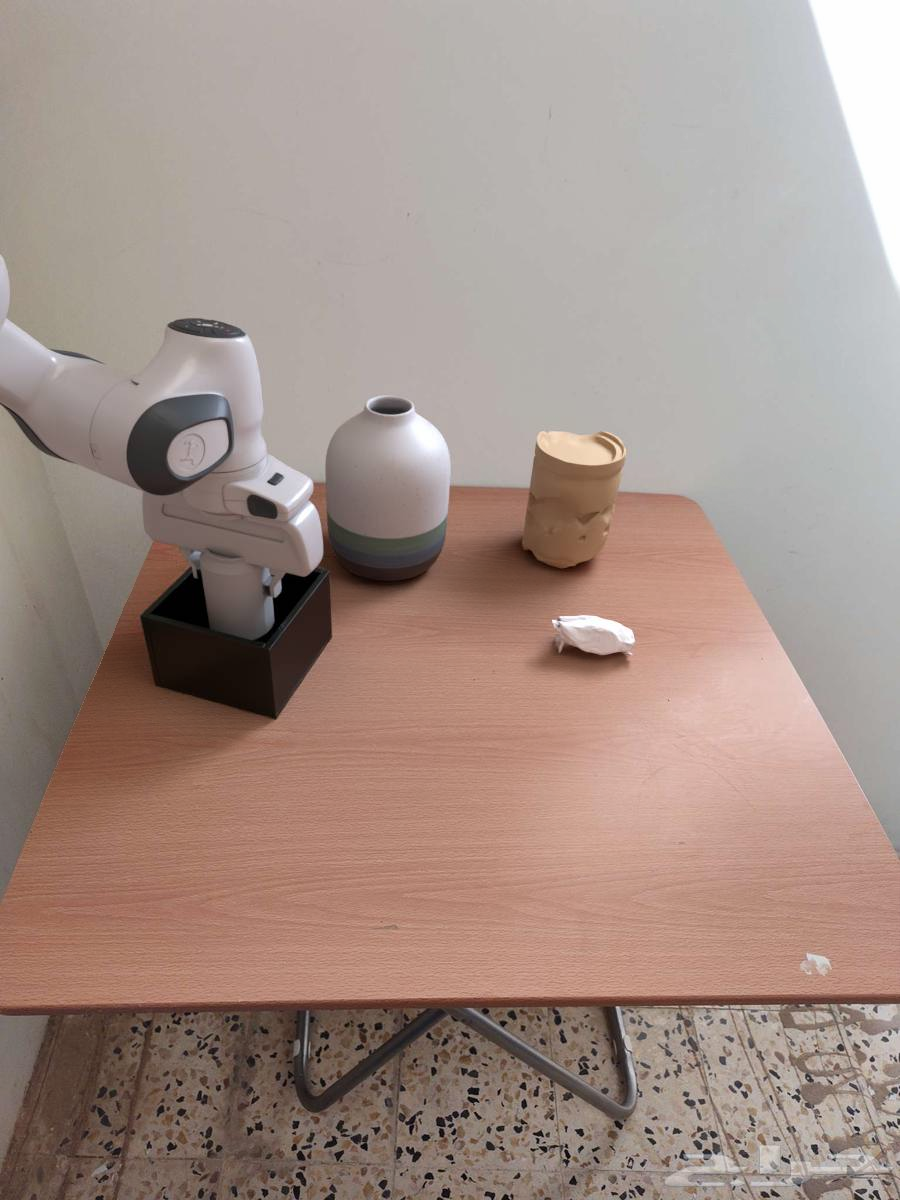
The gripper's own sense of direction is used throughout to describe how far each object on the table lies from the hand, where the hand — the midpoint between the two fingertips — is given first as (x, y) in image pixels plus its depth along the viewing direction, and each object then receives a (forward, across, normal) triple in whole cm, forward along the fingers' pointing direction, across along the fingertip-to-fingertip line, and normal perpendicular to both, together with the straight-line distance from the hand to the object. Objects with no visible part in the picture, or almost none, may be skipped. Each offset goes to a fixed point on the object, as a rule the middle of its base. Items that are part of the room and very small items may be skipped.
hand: (238, 585), depth 91 cm
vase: (+12, +8, +27) cm, 31 cm away
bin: (+12, 0, 0) cm, 12 cm away
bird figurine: (+12, +40, +18) cm, 45 cm away
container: (+12, +32, +39) cm, 52 cm away
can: (+6, 0, 0) cm, 6 cm away
